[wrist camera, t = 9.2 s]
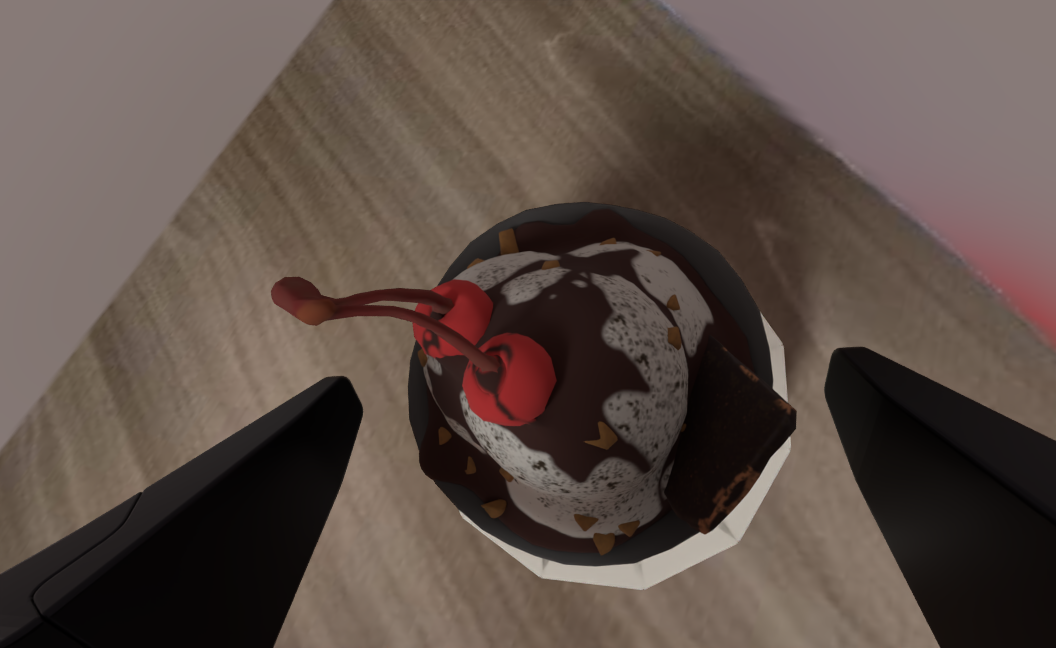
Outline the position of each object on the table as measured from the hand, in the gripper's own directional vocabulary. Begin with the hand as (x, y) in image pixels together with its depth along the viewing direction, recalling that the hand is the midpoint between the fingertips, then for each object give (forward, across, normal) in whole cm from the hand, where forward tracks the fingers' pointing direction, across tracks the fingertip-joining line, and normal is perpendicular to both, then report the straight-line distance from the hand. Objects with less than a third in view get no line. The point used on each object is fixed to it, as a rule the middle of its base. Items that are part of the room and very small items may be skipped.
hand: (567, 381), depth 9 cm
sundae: (+7, 0, +7) cm, 10 cm away
